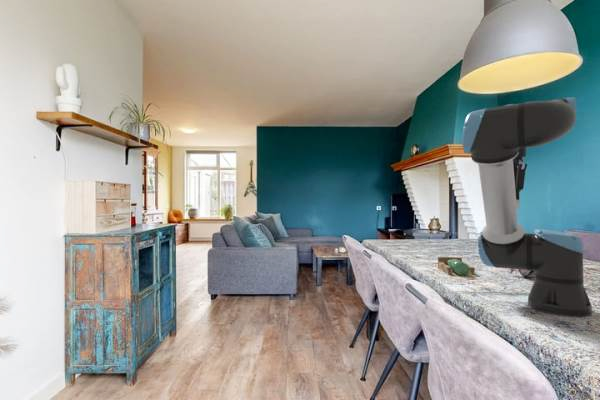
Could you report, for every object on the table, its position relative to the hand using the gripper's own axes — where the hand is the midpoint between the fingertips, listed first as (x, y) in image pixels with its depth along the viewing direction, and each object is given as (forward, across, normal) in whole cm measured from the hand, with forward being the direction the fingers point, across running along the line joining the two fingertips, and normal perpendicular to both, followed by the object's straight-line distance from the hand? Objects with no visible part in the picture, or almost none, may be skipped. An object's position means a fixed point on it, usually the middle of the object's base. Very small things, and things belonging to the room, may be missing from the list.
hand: (514, 208), depth 128 cm
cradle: (+29, +15, +16) cm, 37 cm away
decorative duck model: (+30, +13, -14) cm, 35 cm away
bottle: (+26, +9, +16) cm, 31 cm away
